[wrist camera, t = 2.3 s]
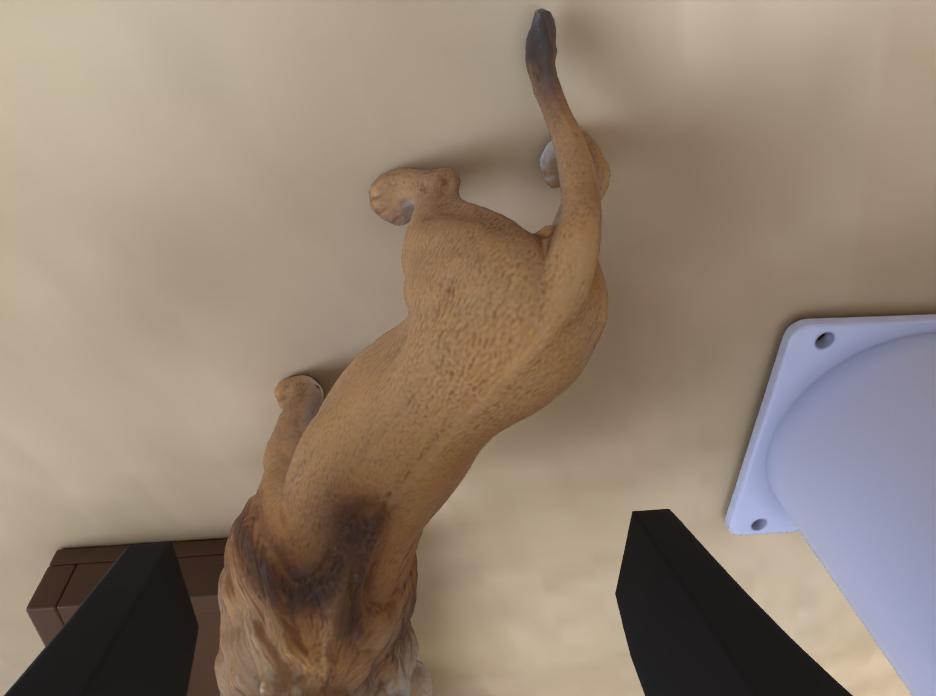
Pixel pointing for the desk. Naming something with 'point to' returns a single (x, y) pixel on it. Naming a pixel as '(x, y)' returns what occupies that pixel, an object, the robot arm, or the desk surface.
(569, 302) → the lion figurine
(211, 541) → the brown rectangular tray
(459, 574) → the desk surface
